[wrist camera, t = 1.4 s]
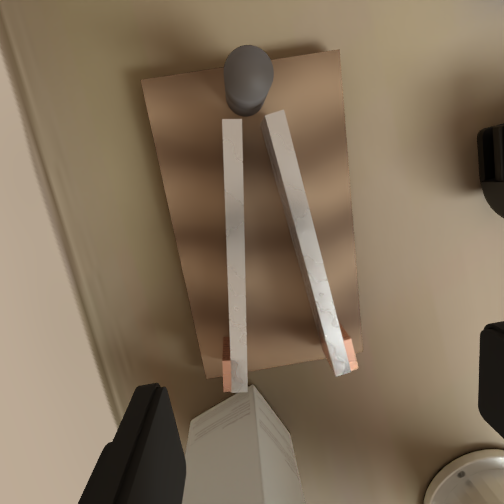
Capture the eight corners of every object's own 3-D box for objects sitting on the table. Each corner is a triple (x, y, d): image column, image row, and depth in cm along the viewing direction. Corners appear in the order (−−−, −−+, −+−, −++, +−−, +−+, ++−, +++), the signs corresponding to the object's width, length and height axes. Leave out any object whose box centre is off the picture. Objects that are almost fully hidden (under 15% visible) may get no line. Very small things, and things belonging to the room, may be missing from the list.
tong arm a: (260, 124, 22) (264, 115, 19) (284, 116, 22) (293, 106, 19) (322, 351, 27) (336, 376, 24) (342, 345, 27) (358, 369, 24)
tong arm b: (215, 127, 22) (211, 119, 19) (240, 127, 22) (241, 118, 19) (224, 365, 27) (223, 393, 23) (245, 364, 27) (247, 392, 23)
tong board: (146, 85, 23) (114, 52, 17) (332, 57, 24) (369, 13, 17) (207, 368, 29) (200, 422, 23) (356, 342, 29) (390, 389, 23)
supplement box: (188, 419, 30) (158, 585, 18) (254, 381, 30) (269, 526, 17) (229, 469, 32) (228, 653, 20) (292, 435, 31) (331, 601, 19)
